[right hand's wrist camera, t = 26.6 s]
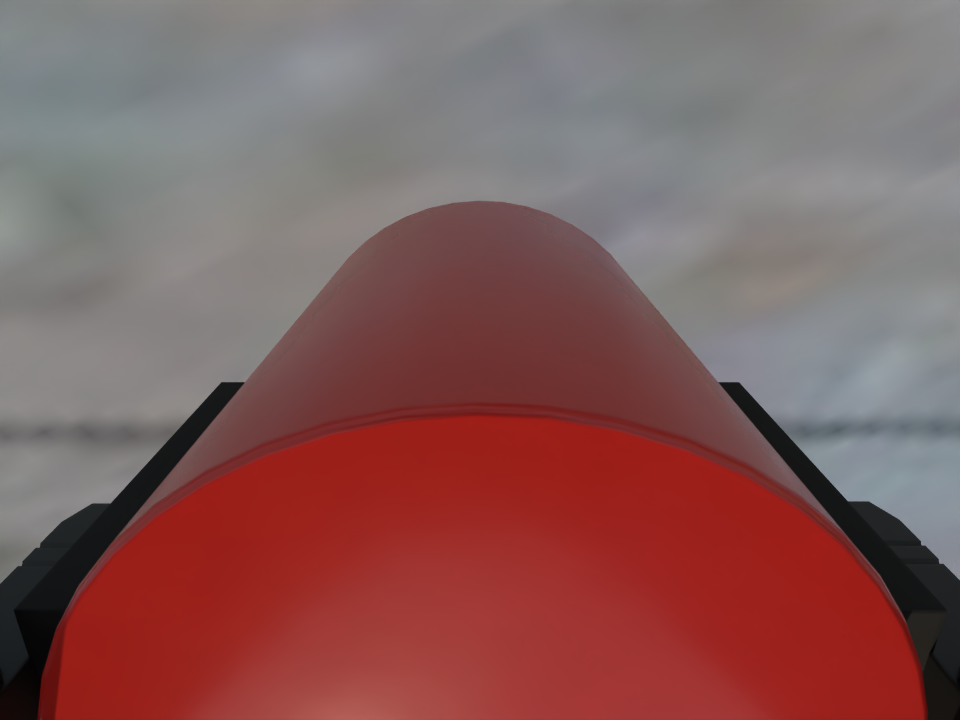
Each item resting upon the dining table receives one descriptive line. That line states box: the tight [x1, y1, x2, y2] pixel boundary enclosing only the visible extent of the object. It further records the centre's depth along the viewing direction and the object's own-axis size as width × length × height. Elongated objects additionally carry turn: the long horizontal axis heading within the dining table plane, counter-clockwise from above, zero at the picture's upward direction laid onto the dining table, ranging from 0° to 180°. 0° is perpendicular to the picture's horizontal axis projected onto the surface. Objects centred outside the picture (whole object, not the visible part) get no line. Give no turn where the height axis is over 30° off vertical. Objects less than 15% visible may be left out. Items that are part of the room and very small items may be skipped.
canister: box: [37, 201, 928, 720], centre depth 12 cm, size 9×9×12 cm
